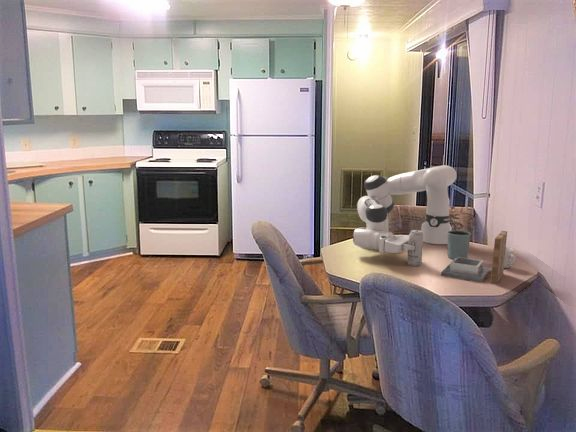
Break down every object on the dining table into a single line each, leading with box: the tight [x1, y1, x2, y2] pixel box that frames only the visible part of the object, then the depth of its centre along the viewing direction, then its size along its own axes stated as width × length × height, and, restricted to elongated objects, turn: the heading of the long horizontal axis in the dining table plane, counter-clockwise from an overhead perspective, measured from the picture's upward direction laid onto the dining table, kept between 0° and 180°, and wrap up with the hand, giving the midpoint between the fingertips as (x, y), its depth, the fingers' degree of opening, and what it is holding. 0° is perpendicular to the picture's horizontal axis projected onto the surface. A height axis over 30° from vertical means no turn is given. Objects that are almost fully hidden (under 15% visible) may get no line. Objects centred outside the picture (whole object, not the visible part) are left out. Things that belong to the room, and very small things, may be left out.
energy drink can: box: [406, 229, 424, 267], centre depth 224 cm, size 6×6×15 cm
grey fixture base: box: [440, 257, 492, 283], centre depth 214 cm, size 18×16×5 cm
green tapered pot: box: [447, 229, 472, 261], centre depth 236 cm, size 10×10×12 cm
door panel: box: [490, 230, 508, 285], centre depth 206 cm, size 16×2×18 cm, turn 149°
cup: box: [503, 246, 516, 269], centre depth 222 cm, size 11×8×8 cm
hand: (417, 246), depth 223 cm, fingers closed on energy drink can, 6 cm apart
